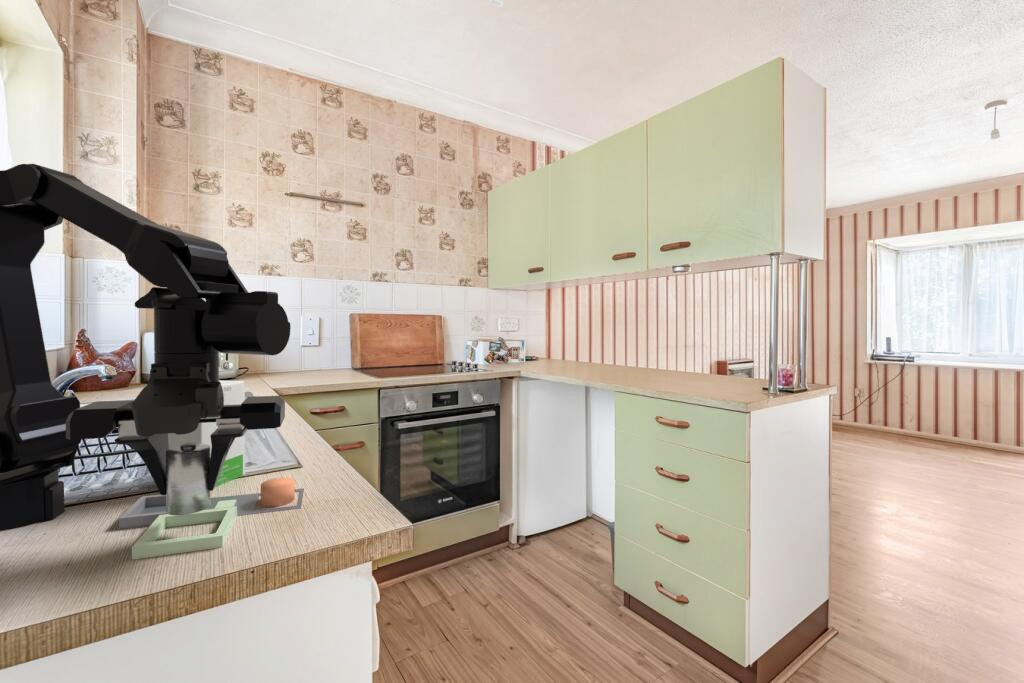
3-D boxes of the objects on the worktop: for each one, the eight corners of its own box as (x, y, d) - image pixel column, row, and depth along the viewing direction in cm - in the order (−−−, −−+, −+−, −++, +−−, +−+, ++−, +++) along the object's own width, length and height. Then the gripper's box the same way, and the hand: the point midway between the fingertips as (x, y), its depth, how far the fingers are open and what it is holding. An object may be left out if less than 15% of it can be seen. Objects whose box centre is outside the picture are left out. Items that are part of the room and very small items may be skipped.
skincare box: (200, 500, 62) (199, 388, 61) (160, 495, 63) (159, 385, 62) (247, 479, 70) (247, 380, 69) (211, 475, 71) (211, 377, 70)
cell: (160, 517, 48) (159, 451, 47) (173, 502, 51) (172, 441, 51) (205, 512, 49) (205, 448, 49) (214, 498, 53) (214, 438, 52)
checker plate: (116, 538, 51) (115, 519, 51) (140, 512, 58) (140, 496, 57) (300, 515, 58) (300, 498, 58) (304, 495, 65) (304, 480, 64)
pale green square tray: (132, 568, 45) (131, 547, 45) (159, 533, 52) (159, 515, 52) (222, 555, 48) (222, 535, 48) (237, 523, 55) (237, 506, 55)
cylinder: (258, 509, 58) (258, 490, 57) (263, 497, 61) (263, 479, 61) (293, 505, 59) (293, 486, 59) (295, 493, 63) (295, 476, 63)
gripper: (27, 359, 38) (32, 538, 39) (274, 358, 45) (274, 510, 46) (92, 349, 49) (95, 491, 49) (285, 349, 55) (285, 474, 56)
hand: (188, 491), depth 50 cm, fingers closed on cell, 4 cm apart
